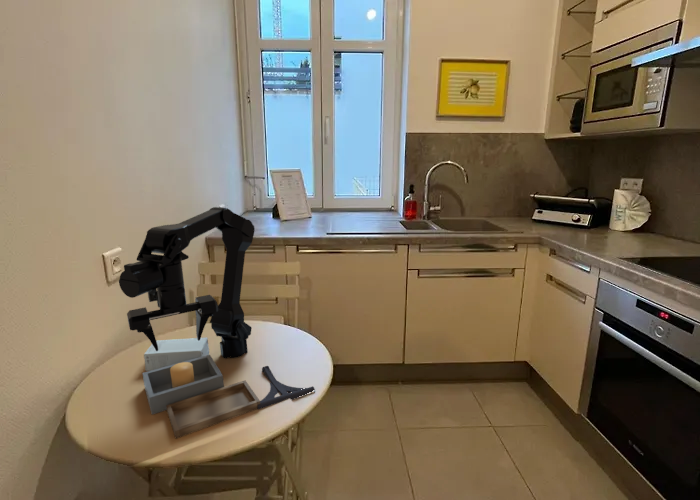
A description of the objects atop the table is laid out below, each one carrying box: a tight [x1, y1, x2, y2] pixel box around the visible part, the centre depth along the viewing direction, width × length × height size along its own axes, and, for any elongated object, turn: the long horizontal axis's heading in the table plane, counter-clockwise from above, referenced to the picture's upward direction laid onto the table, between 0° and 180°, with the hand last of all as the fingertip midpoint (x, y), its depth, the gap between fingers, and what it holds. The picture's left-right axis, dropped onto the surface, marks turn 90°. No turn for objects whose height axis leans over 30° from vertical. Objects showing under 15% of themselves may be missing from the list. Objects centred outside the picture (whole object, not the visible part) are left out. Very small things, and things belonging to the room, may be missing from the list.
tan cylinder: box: [170, 362, 195, 388], centre depth 97 cm, size 5×5×6 cm
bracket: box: [257, 365, 316, 410], centre depth 100 cm, size 14×15×3 cm
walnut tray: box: [166, 380, 261, 439], centre depth 90 cm, size 18×10×2 cm, turn 123°
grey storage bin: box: [142, 354, 225, 415], centre depth 98 cm, size 16×12×5 cm
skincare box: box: [143, 336, 210, 372], centre depth 110 cm, size 8×6×15 cm
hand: (178, 344), depth 95 cm, fingers open, 9 cm apart
